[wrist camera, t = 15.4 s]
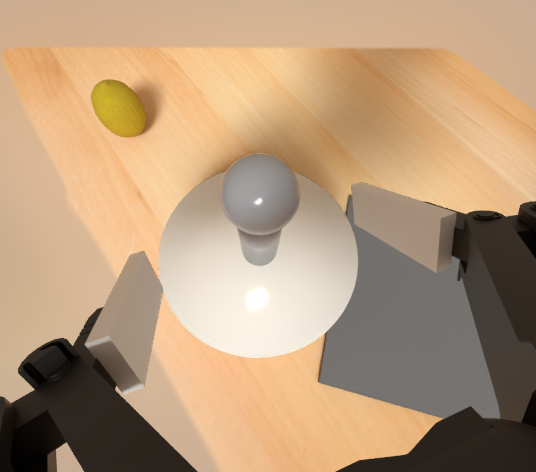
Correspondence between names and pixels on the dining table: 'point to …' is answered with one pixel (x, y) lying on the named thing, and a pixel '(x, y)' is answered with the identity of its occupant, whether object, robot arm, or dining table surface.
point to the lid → (258, 259)
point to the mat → (407, 336)
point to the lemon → (118, 108)
